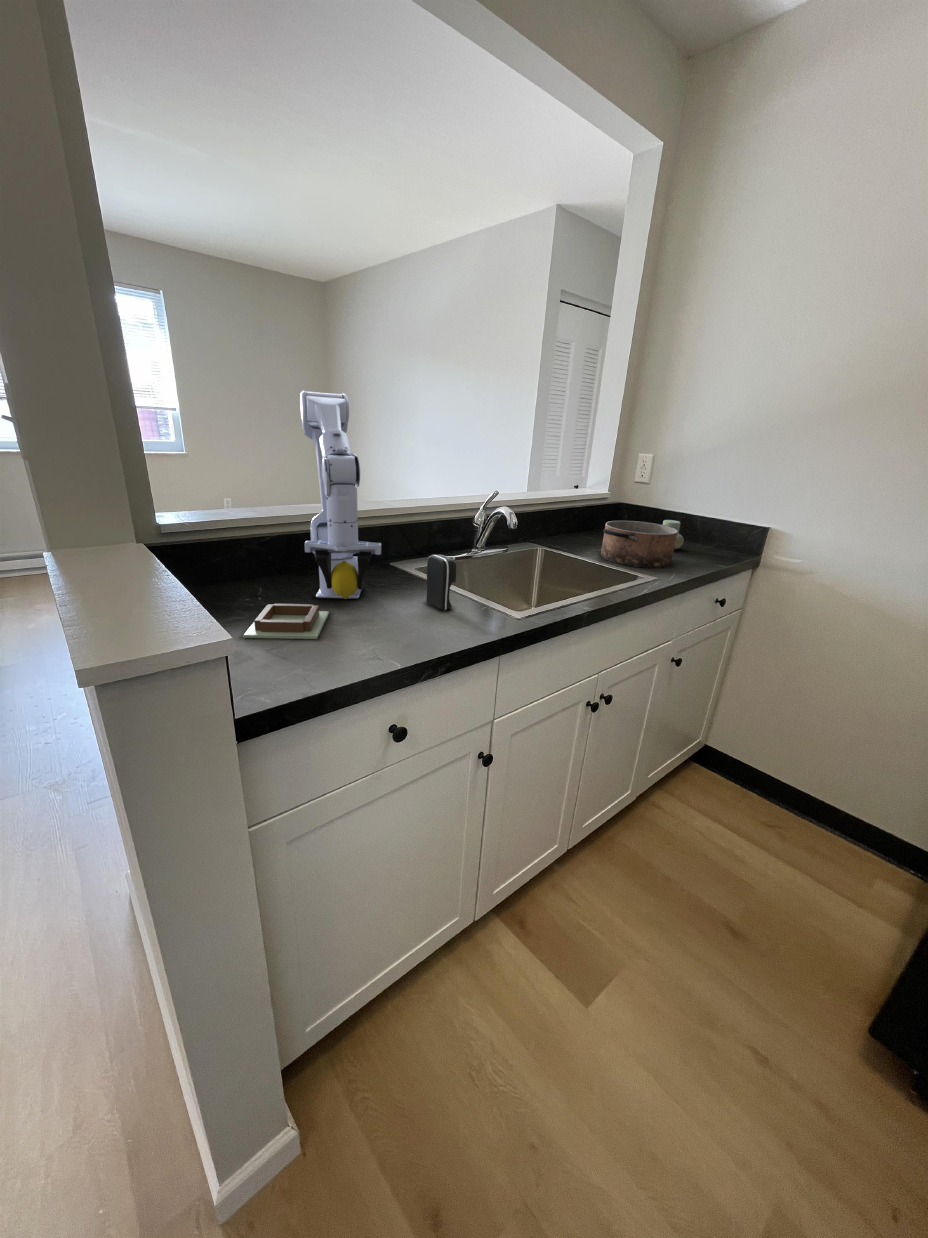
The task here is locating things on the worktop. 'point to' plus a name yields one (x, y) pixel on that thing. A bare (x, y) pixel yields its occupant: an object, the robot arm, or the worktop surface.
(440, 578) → the battery charger
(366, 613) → the worktop surface
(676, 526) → the air freshener
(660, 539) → the cooking pot
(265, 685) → the worktop surface
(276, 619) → the cradle pad
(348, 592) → the lemon
